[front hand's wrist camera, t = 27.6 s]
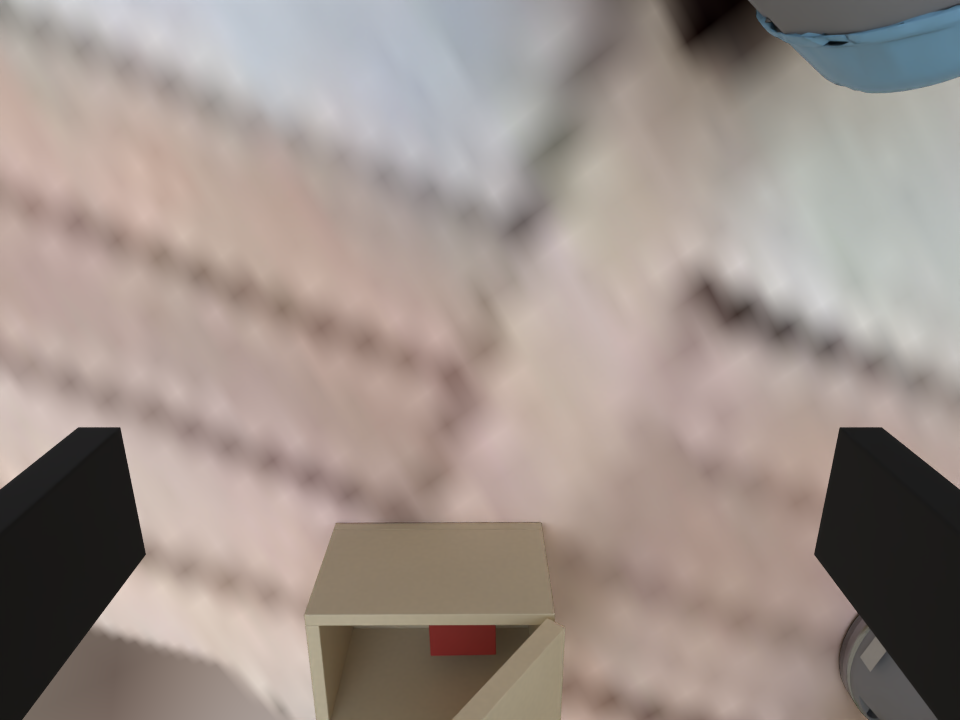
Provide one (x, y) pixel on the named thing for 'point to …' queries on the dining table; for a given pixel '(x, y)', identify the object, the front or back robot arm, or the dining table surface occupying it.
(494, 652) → the block
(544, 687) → the lid
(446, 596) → the chest
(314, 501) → the dining table surface
